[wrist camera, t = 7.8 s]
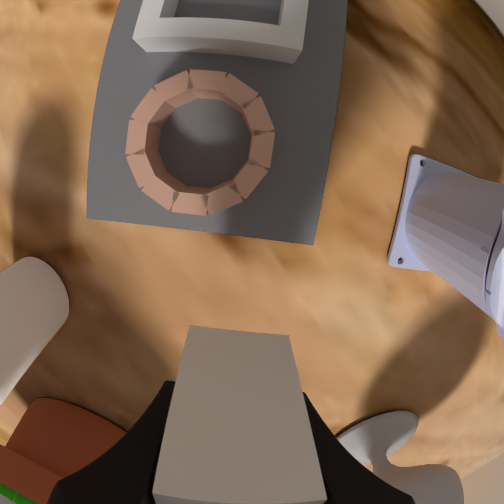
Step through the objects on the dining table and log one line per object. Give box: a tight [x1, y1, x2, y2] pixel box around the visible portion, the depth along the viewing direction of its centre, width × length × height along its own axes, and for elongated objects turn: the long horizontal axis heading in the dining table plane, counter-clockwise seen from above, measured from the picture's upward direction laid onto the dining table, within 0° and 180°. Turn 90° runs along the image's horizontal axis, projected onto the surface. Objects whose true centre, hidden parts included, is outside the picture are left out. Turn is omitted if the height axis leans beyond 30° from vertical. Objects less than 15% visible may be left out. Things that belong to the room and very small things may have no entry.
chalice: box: [337, 411, 464, 504], centre depth 20 cm, size 14×14×15 cm
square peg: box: [152, 325, 327, 504], centre depth 10 cm, size 4×4×8 cm
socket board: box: [87, 0, 348, 245], centre depth 13 cm, size 14×20×4 cm
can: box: [0, 257, 69, 405], centre depth 14 cm, size 6×6×12 cm
